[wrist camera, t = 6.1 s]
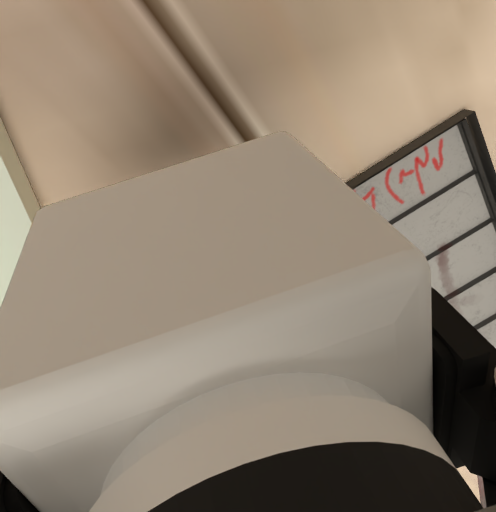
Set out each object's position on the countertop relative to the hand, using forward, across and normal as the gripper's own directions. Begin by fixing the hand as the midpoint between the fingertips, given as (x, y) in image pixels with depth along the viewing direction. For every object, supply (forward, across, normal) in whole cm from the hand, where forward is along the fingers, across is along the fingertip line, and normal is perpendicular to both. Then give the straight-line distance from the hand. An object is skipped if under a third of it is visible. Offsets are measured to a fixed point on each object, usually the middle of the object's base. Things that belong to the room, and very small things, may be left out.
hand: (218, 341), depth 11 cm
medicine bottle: (+4, 0, 0) cm, 4 cm away
